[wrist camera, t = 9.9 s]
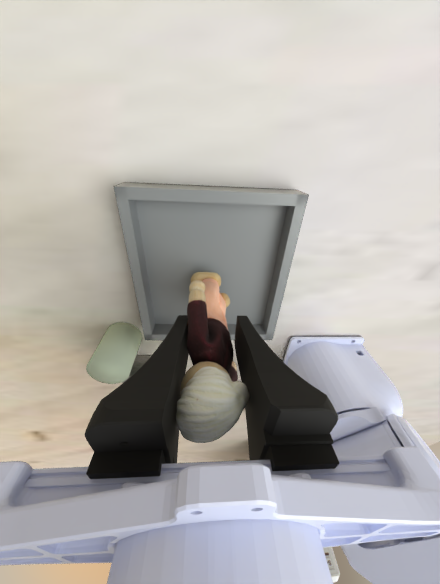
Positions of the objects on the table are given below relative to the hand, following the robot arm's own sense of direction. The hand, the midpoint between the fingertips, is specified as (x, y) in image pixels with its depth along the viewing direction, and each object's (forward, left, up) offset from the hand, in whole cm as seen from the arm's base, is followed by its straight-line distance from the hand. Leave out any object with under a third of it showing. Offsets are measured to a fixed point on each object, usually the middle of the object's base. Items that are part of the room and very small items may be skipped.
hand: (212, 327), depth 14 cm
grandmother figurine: (0, +2, -6) cm, 7 cm away
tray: (0, 0, -8) cm, 8 cm away
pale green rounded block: (+10, +9, -8) cm, 16 cm away
